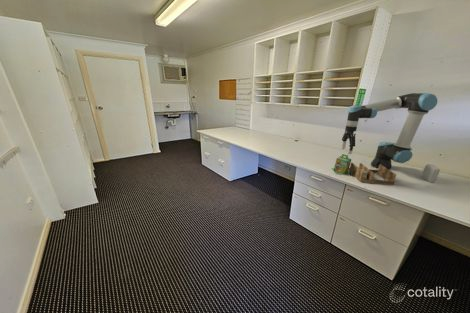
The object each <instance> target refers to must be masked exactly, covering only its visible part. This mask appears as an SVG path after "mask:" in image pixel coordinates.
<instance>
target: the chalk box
mask: <svg viewBox="0 0 470 313" xmlns="http://www.w3.org/2000/svg"><path fill="white" fill-rule="evenodd" d="M351 163H352V158H349V154H344V153H343V154H341V156H339V157H337V158H336V160H335V164H334V167H333V168H334V171H336V172H340V173H343V174H345V173H347V172H350V171H349V168H350V165H351ZM334 171H333V172H334Z"/></svg>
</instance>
